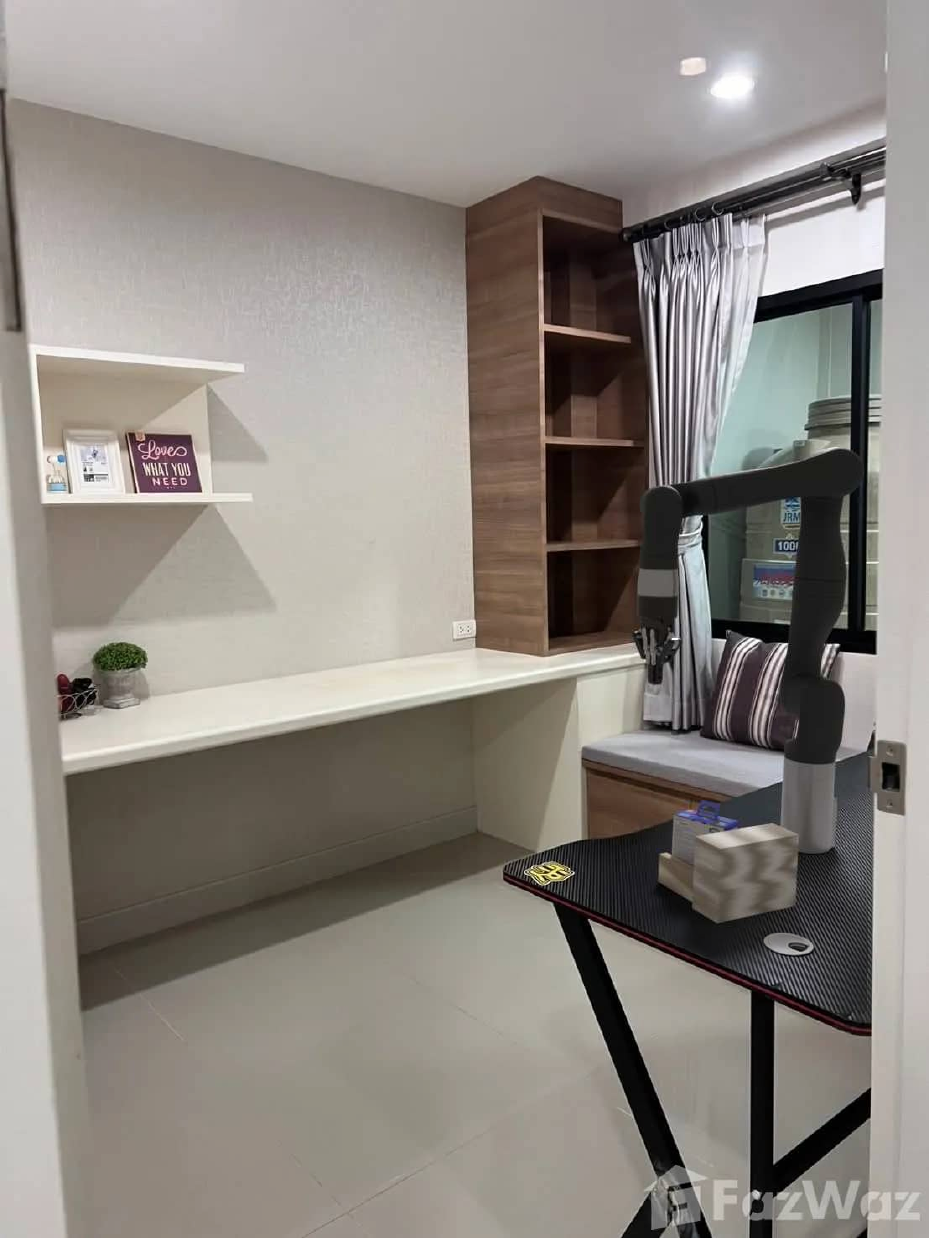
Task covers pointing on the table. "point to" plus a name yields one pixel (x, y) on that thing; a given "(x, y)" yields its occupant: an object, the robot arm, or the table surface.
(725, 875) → the cartridge dock
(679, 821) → the ink cartridge box
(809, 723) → the robot arm
